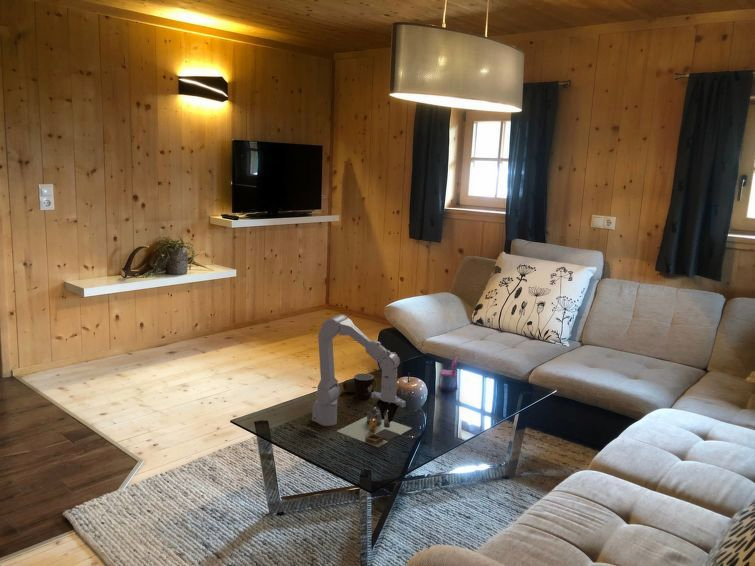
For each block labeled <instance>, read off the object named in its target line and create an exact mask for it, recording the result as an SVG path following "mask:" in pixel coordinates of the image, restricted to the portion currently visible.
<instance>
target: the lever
mask: <svg viewBox="0 0 755 566" xmlns="http://www.w3.org/2000/svg"><path fill="white" fill-rule="evenodd" d="M369 431H371V432H375V431H376V419H375V418H371V419H370V425H369Z"/></svg>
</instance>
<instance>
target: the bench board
mask: <svg viewBox="0 0 755 566" xmlns="http://www.w3.org/2000/svg"><path fill="white" fill-rule="evenodd" d="M383 429H387V430H389V431H392V432H395V433H398V434H400V435H399V436H401V435H403V434H405V433H406V432H408V431H409V430H412V429H413V428H412V427H410V426H407V425H405V424H401V423H399V422H395V421H394V420H393V421H391V422H390V427H389V428H386V427H384V420H382V424H381V425H379V426H376V431H375V432H371V431H369V425H368V424H367V416H365V417H363V418H360V419H359V420H356V421H354V422H352V423H350V424H348V425H346V426H344V427H342V428H339V429H337V430H336V432H337V433H340V434H343V435H345V436H347V437H350V438H353V439H355V440H359V441H361V442H363V443H365V444H368V445H371V446H374V447H376V448H380V447H381V446H383V445H385V444H386V443H388V442H389V441H387V440H384V439H383V441H382V442H380V443H379V444H377V445H374V444H371V443H368V442H366V441H365V437H367V436H369V435H371V434H373V433H374V434H376V433H378V432H380V431H382V430H383ZM394 439H395V438H393V439H392V440H394ZM373 440H377V439H375V438H373Z"/></svg>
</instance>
